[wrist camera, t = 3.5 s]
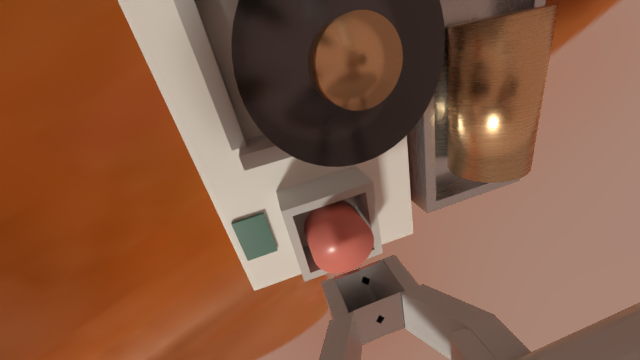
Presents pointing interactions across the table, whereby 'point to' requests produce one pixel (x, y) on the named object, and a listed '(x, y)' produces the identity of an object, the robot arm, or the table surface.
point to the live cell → (497, 92)
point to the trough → (432, 129)
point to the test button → (338, 237)
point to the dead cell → (337, 73)
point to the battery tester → (256, 147)
